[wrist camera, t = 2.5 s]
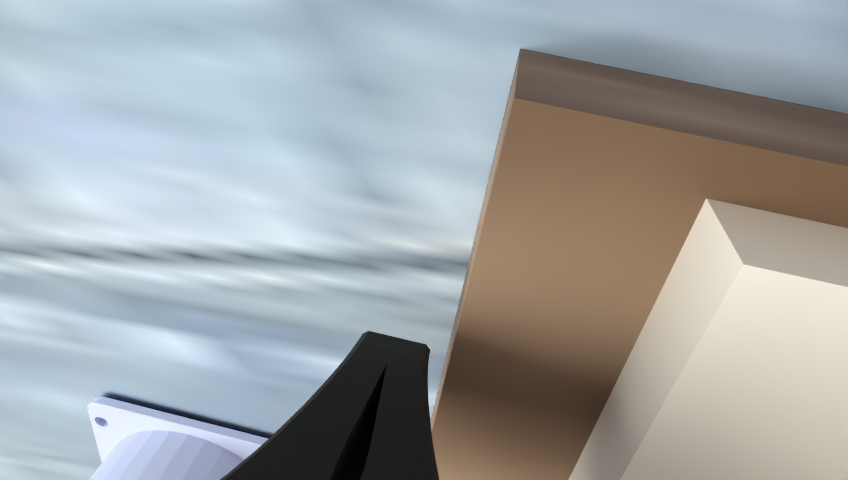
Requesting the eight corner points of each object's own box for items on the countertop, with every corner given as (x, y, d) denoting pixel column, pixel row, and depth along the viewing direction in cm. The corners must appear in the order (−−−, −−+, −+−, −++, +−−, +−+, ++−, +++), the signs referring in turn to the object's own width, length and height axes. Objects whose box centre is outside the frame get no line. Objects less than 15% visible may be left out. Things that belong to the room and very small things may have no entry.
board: (800, 548, 19) (849, 670, 16) (423, 453, 19) (402, 552, 16) (1163, 177, 11) (1391, 278, 8) (520, 48, 12) (514, 98, 9)
